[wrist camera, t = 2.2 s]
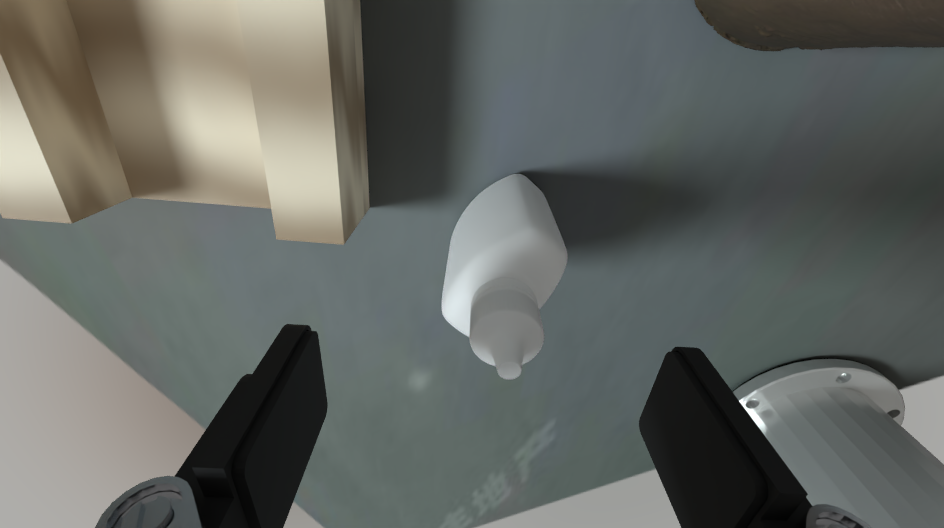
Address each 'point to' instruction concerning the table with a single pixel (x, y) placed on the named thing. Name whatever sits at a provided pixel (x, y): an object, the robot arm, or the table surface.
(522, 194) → the eye dropper bottle
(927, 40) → the pillar candle
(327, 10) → the u rest
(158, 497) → the robot arm
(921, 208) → the table surface
